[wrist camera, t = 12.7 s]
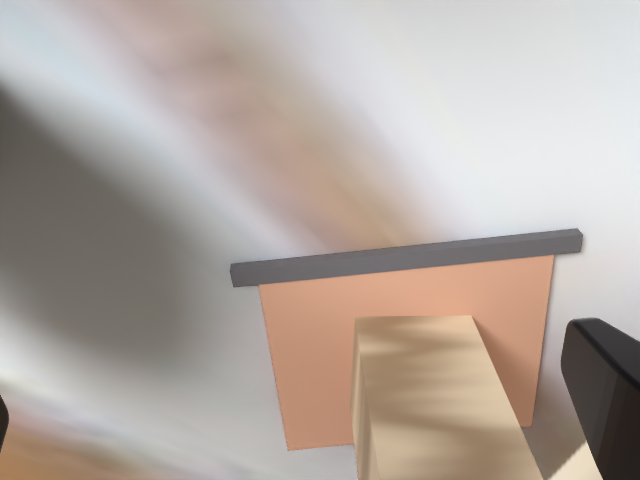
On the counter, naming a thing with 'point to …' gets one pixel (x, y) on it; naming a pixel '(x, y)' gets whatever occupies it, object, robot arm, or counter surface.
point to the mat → (400, 300)
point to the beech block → (431, 404)
